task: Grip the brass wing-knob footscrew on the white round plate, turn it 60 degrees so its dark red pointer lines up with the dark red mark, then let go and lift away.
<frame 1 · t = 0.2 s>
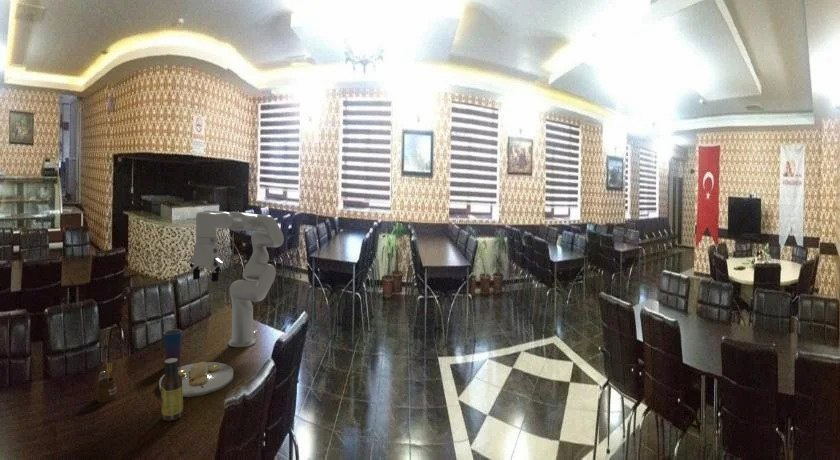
hand: (205, 280, 185), 37 cm above the table, tool pointing down, fingers open, 9 cm apart
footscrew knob: (197, 373, 163), point 6 cm above the table, hinge at 0.0°
sauce bottle: (172, 417, 143), on the table
utensil holder: (106, 399, 153), on the table
white round plate: (197, 381, 170), on the table
cup: (173, 366, 183), on the table
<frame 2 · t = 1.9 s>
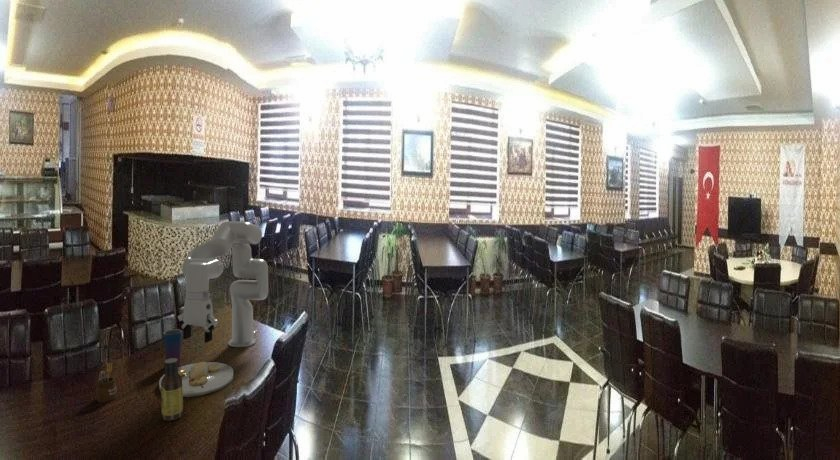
hand: (197, 339, 162), 19 cm above the table, tool pointing down, fingers open, 9 cm apart
nothing on the table moved.
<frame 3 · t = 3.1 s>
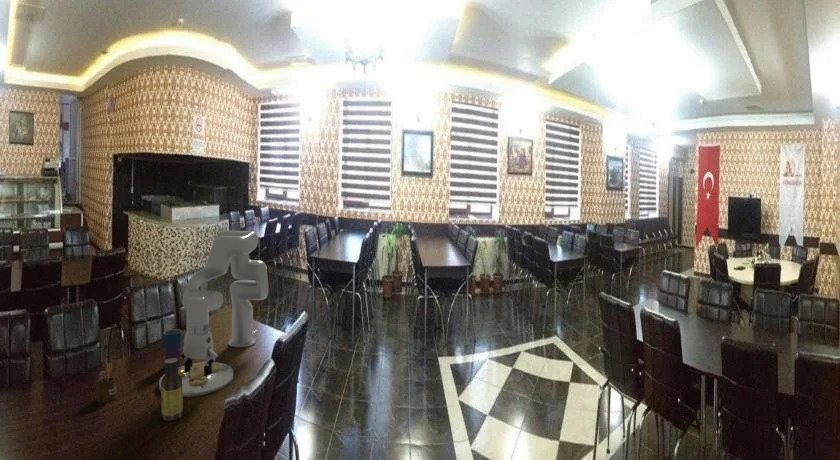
hand: (198, 372, 163), 6 cm above the table, tool pointing down, fingers open, 8 cm apart
nothing on the table moved.
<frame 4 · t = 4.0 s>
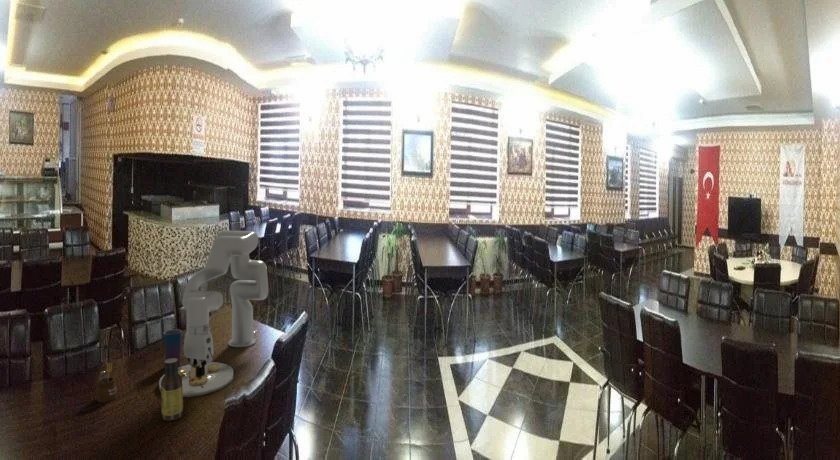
hand: (198, 375, 163), 5 cm above the table, tool pointing down, fingers closed on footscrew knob, 2 cm apart
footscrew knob: (197, 373, 163), point 6 cm above the table, hinge at 0.0°, touching gripper
everything else where it was.
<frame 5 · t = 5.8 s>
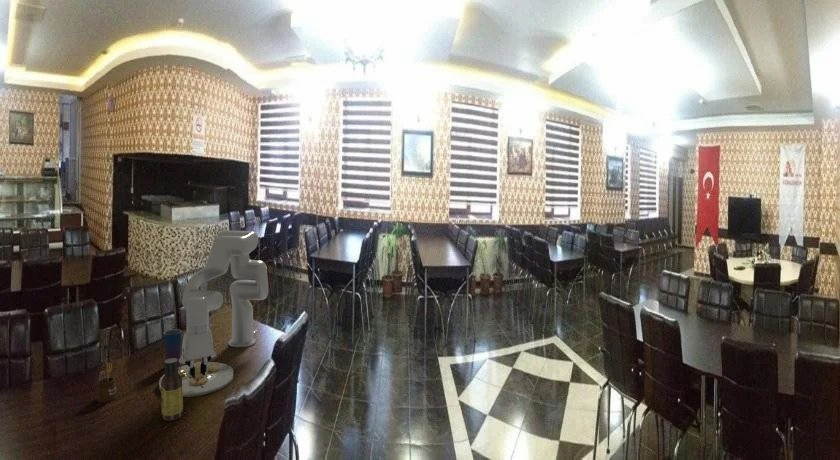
hand: (198, 374, 163), 5 cm above the table, tool pointing down, fingers closed on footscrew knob, 2 cm apart
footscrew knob: (198, 373, 163), point 6 cm above the table, hinge at 39.0°, touching gripper
everything else where it was.
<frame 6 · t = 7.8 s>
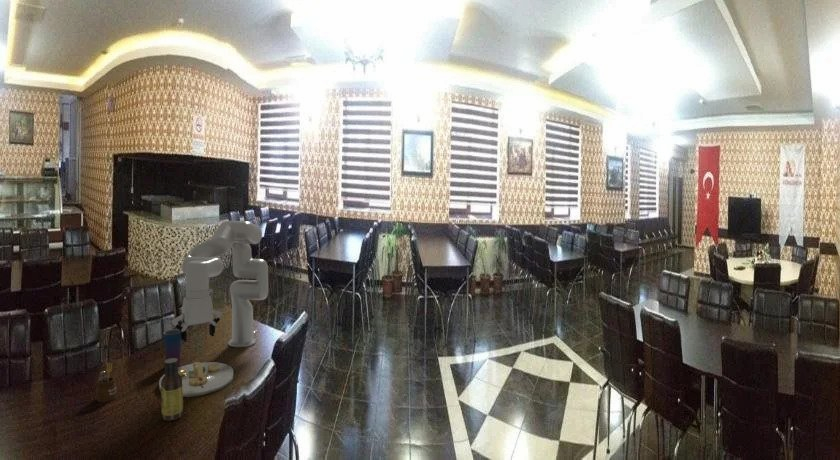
hand: (198, 338, 162), 20 cm above the table, tool pointing down, fingers open, 9 cm apart
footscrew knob: (198, 373, 163), point 6 cm above the table, hinge at 58.5°
everything else where it was.
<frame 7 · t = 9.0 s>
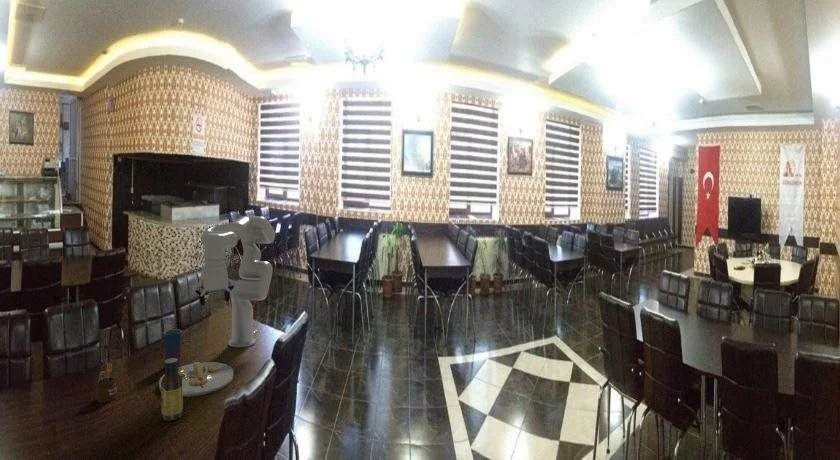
hand: (214, 302, 180), 28 cm above the table, tool pointing down, fingers open, 9 cm apart
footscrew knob: (198, 373, 163), point 6 cm above the table, hinge at 59.3°
everything else where it was.
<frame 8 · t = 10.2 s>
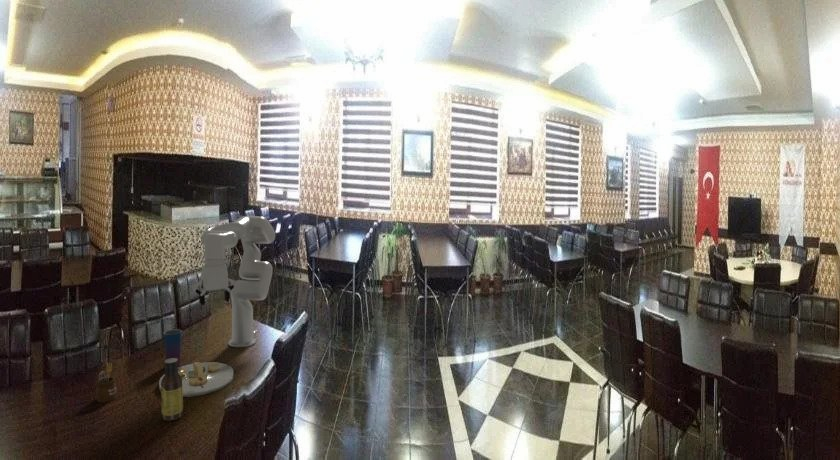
hand: (214, 302, 180), 28 cm above the table, tool pointing down, fingers open, 9 cm apart
nothing on the table moved.
at the end: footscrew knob at +60° (first picture: +0°); cup moved 0.2 cm from its start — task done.
